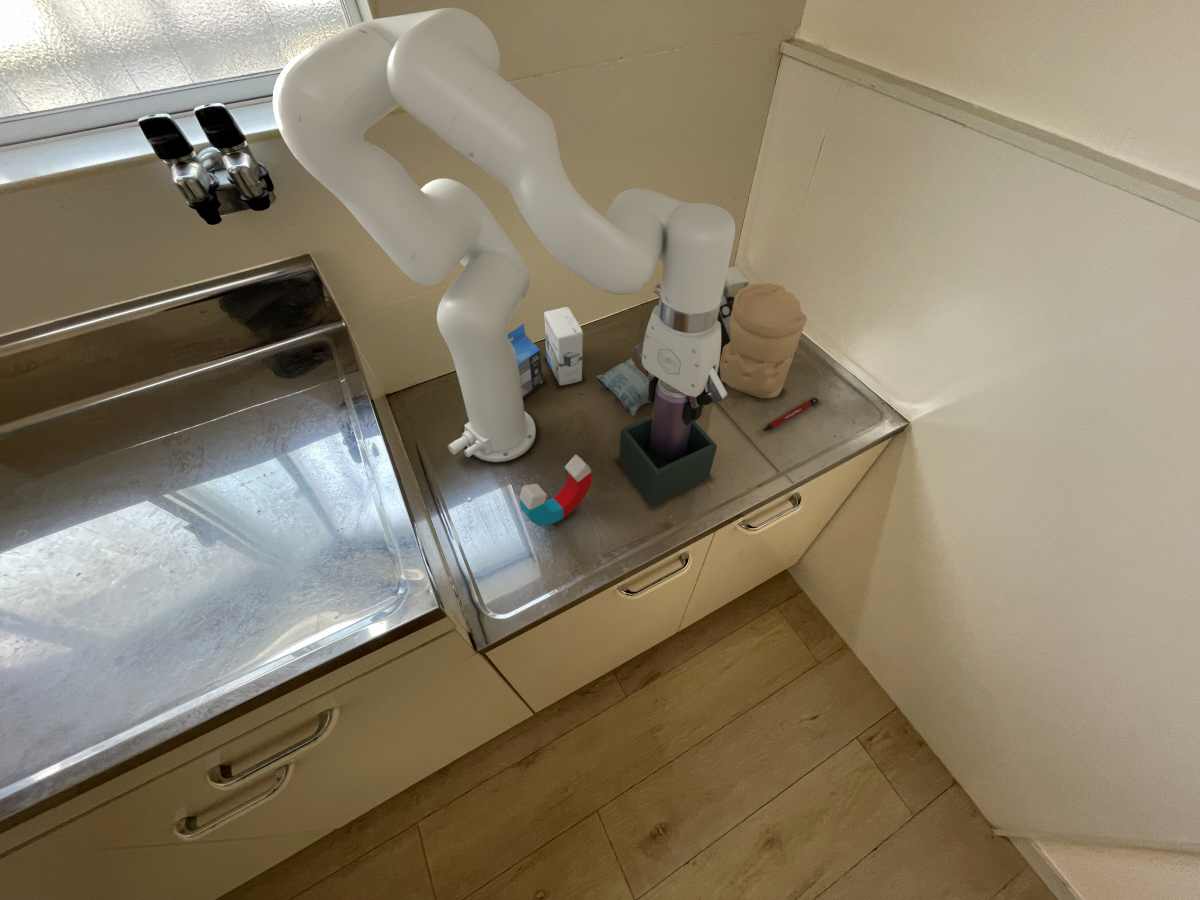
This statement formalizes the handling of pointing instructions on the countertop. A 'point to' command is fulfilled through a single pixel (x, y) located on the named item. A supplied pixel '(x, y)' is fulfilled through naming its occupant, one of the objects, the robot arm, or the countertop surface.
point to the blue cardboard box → (526, 360)
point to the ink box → (564, 345)
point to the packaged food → (626, 385)
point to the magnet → (563, 501)
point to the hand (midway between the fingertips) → (673, 407)
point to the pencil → (791, 414)
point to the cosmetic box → (734, 282)
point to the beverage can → (669, 423)
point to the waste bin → (665, 476)
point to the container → (761, 339)
